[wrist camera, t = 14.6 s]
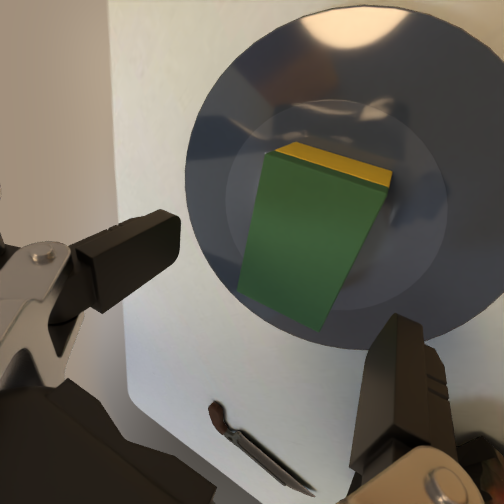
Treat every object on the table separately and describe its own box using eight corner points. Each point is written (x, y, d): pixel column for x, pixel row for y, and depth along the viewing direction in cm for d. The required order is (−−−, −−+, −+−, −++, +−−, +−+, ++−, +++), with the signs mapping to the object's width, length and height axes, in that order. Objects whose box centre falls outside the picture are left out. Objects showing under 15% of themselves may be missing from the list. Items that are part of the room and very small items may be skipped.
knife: (203, 411, 32) (199, 417, 32) (214, 399, 30) (210, 405, 29) (302, 496, 30) (300, 503, 30) (322, 490, 28) (321, 498, 27)
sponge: (263, 260, 17) (235, 291, 14) (295, 141, 13) (264, 153, 10) (334, 292, 16) (318, 333, 13) (393, 170, 12) (388, 193, 9)
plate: (188, 269, 22) (178, 277, 21) (209, -14, 13) (193, -24, 12) (405, 379, 18) (405, 396, 17) (696, 59, 8) (736, 53, 7)
